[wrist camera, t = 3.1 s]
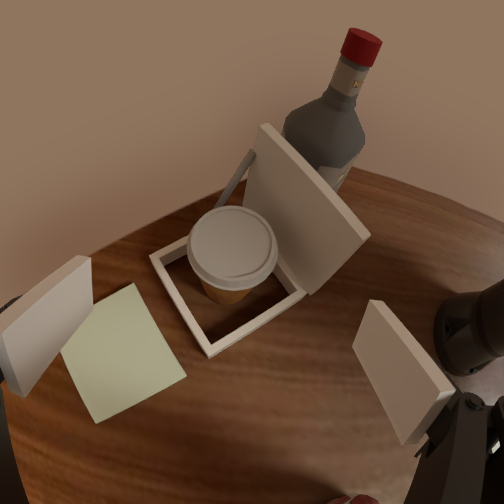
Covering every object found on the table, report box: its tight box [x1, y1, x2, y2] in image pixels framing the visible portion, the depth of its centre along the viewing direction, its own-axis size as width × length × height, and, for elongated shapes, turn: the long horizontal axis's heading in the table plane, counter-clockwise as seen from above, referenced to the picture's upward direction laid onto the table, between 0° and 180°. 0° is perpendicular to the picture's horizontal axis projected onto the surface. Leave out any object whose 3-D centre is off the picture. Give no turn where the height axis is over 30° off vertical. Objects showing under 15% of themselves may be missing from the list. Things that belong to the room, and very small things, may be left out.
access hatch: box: [149, 123, 371, 359], centre depth 32 cm, size 16×16×18 cm
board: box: [60, 283, 187, 424], centre depth 33 cm, size 14×14×1 cm
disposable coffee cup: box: [187, 206, 278, 305], centre depth 35 cm, size 10×10×12 cm
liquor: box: [281, 28, 382, 193], centre depth 35 cm, size 9×9×30 cm
